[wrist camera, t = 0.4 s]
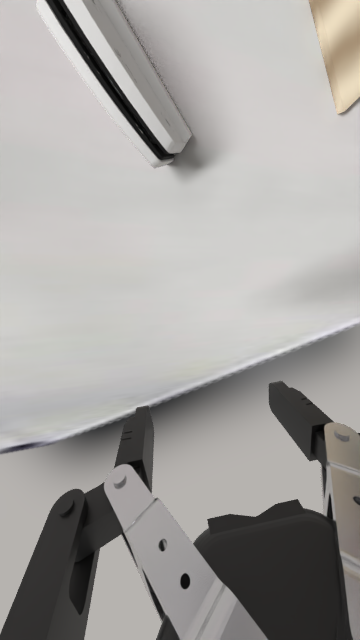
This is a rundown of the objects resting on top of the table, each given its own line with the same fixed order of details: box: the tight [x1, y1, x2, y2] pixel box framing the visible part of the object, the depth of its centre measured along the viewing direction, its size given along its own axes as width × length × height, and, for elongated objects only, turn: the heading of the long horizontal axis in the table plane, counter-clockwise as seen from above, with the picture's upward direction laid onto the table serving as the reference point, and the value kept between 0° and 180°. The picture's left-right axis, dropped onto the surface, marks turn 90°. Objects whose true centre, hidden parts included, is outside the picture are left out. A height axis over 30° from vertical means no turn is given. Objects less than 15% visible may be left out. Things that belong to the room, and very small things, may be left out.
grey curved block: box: [36, 0, 192, 168], centre depth 21 cm, size 17×5×10 cm, turn 41°
